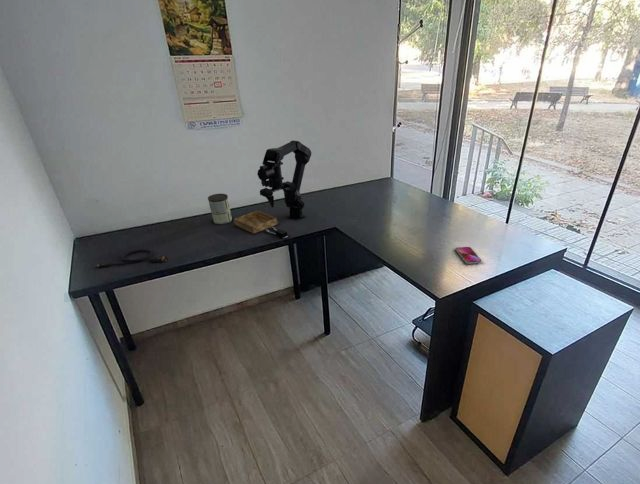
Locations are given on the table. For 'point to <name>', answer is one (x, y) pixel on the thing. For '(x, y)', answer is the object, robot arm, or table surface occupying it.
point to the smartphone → (468, 255)
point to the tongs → (278, 233)
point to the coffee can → (220, 208)
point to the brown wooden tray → (255, 221)
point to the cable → (154, 259)
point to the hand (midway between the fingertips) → (279, 204)
